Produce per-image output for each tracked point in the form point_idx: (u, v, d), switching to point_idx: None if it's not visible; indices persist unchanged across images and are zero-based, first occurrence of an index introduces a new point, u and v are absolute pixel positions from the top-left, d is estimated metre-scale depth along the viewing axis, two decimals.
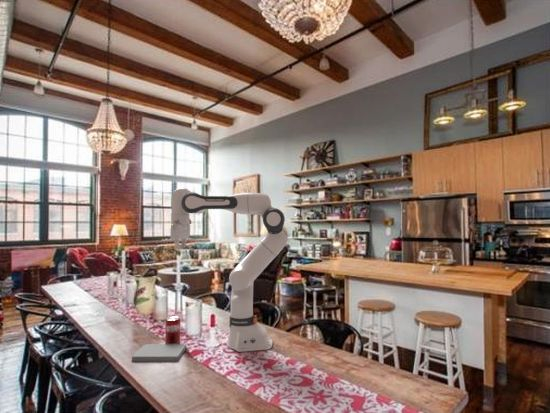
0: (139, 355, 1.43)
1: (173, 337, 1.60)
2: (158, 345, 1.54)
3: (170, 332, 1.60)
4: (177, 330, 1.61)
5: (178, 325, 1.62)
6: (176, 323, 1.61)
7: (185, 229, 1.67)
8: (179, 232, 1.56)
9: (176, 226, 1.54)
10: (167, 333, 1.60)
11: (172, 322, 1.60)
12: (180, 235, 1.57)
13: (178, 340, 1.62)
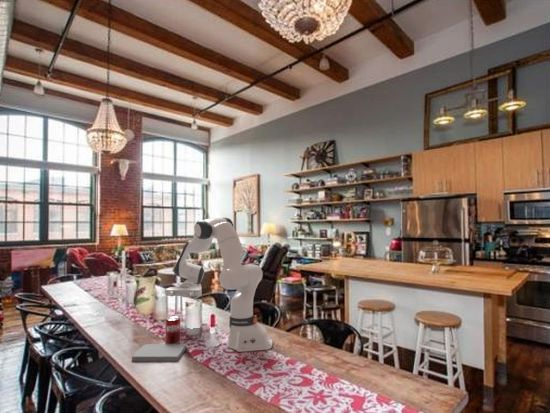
0: (139, 355, 1.43)
1: (173, 337, 1.60)
2: (158, 345, 1.54)
3: (170, 332, 1.60)
4: (177, 330, 1.61)
5: (178, 325, 1.62)
6: (176, 323, 1.61)
7: (192, 288, 1.87)
8: (171, 288, 1.85)
9: None
10: (167, 333, 1.60)
11: (172, 322, 1.60)
12: (173, 289, 1.83)
13: (178, 340, 1.62)
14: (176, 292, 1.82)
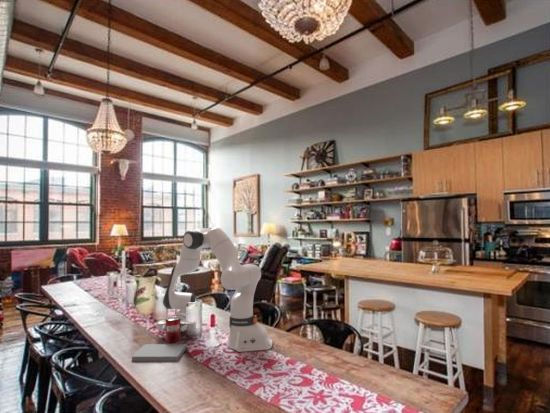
0: (139, 355, 1.43)
1: (173, 337, 1.60)
2: (158, 345, 1.54)
3: (170, 332, 1.60)
4: (177, 330, 1.61)
5: (178, 325, 1.62)
6: (176, 323, 1.61)
7: None
8: (163, 321, 1.71)
9: None
10: (167, 333, 1.60)
11: (172, 322, 1.60)
12: (165, 322, 1.69)
13: (178, 340, 1.62)
14: None
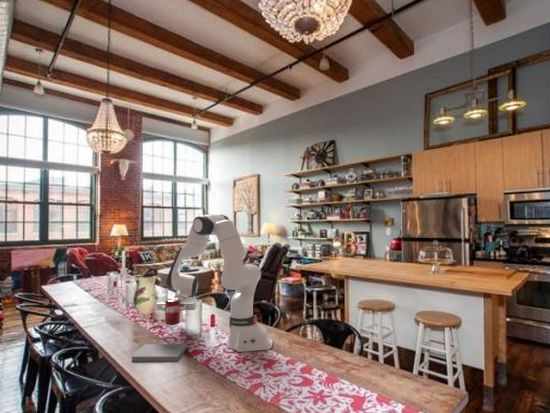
0: (139, 355, 1.43)
1: (173, 318, 1.60)
2: (158, 345, 1.54)
3: (170, 313, 1.60)
4: (177, 312, 1.61)
5: (178, 306, 1.62)
6: (176, 304, 1.61)
7: (186, 301, 1.72)
8: (163, 301, 1.70)
9: None
10: (167, 314, 1.60)
11: (172, 303, 1.60)
12: None
13: (178, 321, 1.61)
14: None
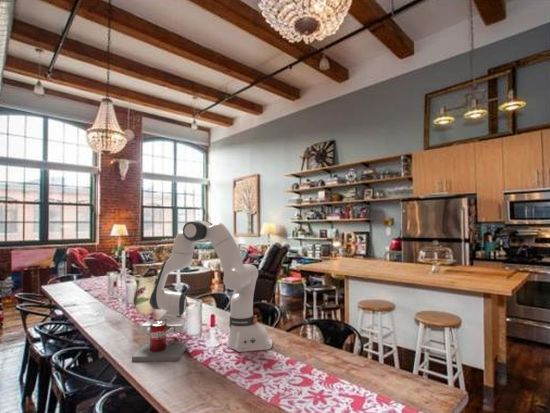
0: (139, 355, 1.43)
1: (158, 344, 1.45)
2: None
3: (155, 339, 1.45)
4: (162, 337, 1.46)
5: (164, 331, 1.47)
6: (161, 328, 1.46)
7: (173, 322, 1.57)
8: (148, 323, 1.56)
9: None
10: (152, 340, 1.45)
11: (157, 328, 1.45)
12: (150, 324, 1.54)
13: (164, 348, 1.47)
14: None
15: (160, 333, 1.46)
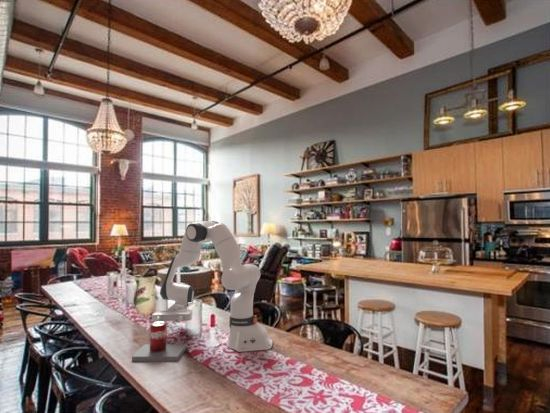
0: (139, 355, 1.43)
1: (158, 344, 1.45)
2: None
3: (155, 339, 1.45)
4: (162, 337, 1.46)
5: (164, 331, 1.47)
6: (161, 328, 1.46)
7: (181, 311, 1.70)
8: (158, 312, 1.69)
9: None
10: (152, 340, 1.45)
11: (157, 328, 1.45)
12: (160, 313, 1.67)
13: (164, 348, 1.47)
14: (163, 317, 1.66)
15: (160, 333, 1.46)
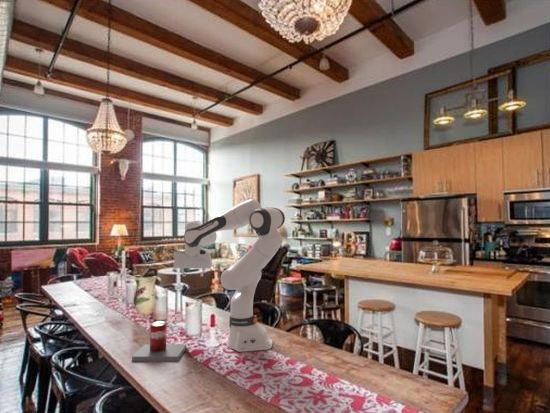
0: (139, 355, 1.43)
1: (158, 344, 1.45)
2: None
3: (155, 339, 1.45)
4: (162, 337, 1.46)
5: (164, 331, 1.47)
6: (161, 328, 1.46)
7: (200, 259, 1.74)
8: (178, 262, 1.74)
9: None
10: (152, 340, 1.45)
11: (157, 328, 1.45)
12: (181, 265, 1.74)
13: (164, 348, 1.47)
14: None
15: (160, 333, 1.46)
